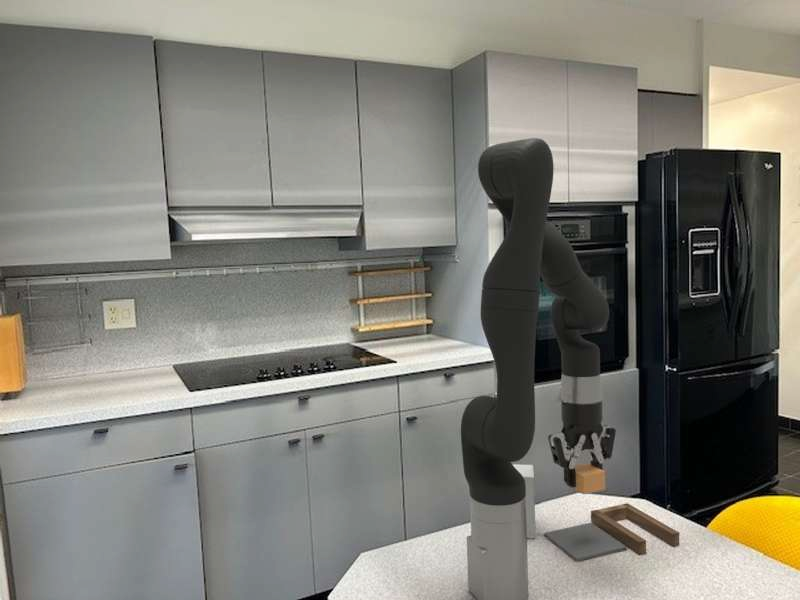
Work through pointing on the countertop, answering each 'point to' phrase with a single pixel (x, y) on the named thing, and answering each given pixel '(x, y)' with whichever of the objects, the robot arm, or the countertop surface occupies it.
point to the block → (589, 478)
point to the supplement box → (529, 496)
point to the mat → (584, 541)
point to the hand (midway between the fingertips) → (583, 483)
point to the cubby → (610, 515)
